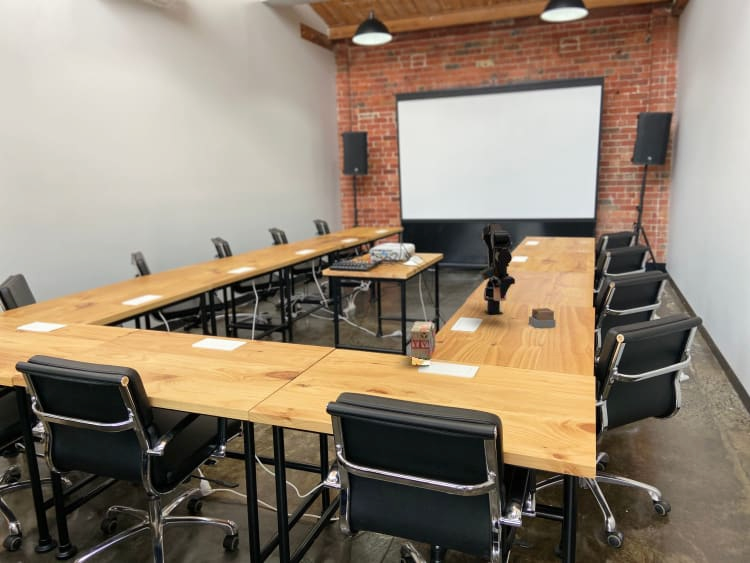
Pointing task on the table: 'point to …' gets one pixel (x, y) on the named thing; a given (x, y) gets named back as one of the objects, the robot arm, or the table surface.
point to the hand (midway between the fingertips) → (499, 297)
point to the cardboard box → (423, 340)
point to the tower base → (541, 323)
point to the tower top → (543, 314)
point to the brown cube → (498, 295)
